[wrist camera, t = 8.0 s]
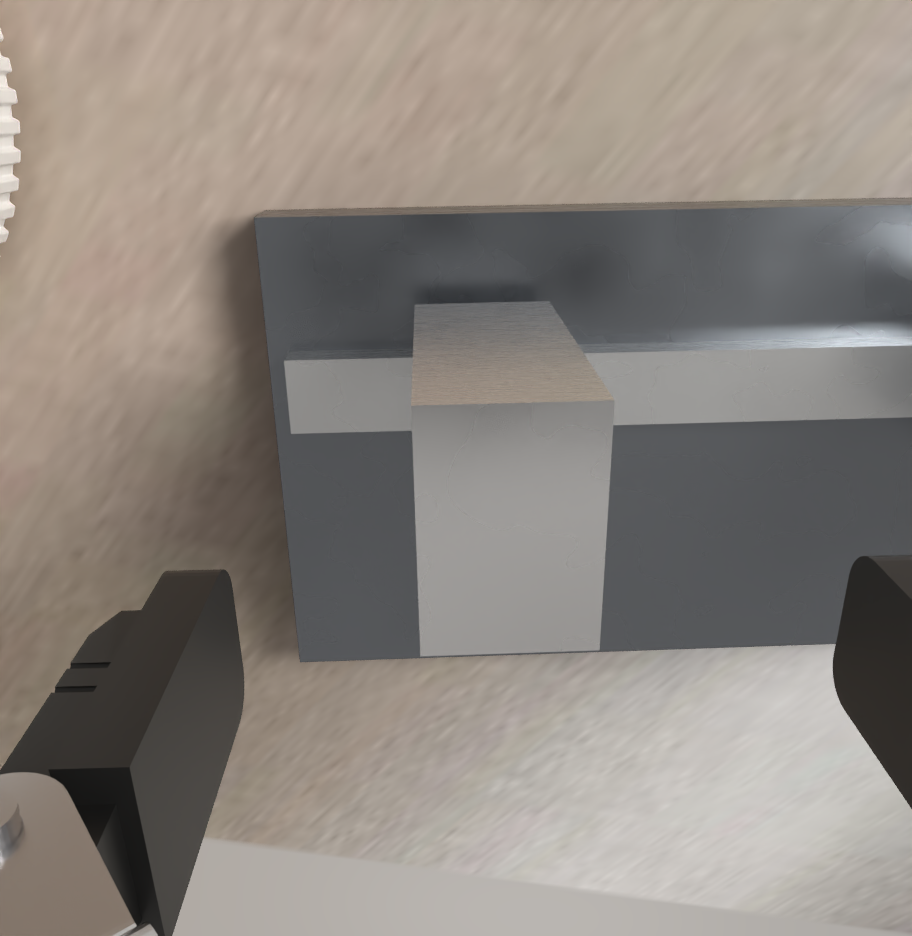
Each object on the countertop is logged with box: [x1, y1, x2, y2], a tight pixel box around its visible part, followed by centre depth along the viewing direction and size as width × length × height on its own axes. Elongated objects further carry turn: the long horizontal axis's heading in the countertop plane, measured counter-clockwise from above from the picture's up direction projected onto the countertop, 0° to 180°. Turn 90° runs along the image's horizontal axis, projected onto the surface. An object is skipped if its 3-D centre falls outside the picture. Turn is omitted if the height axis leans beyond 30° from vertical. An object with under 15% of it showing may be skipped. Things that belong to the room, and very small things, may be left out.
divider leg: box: [411, 301, 615, 656], centre depth 17 cm, size 3×8×7 cm, turn 1°
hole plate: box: [254, 198, 912, 662], centre depth 22 cm, size 22×12×2 cm, turn 91°
